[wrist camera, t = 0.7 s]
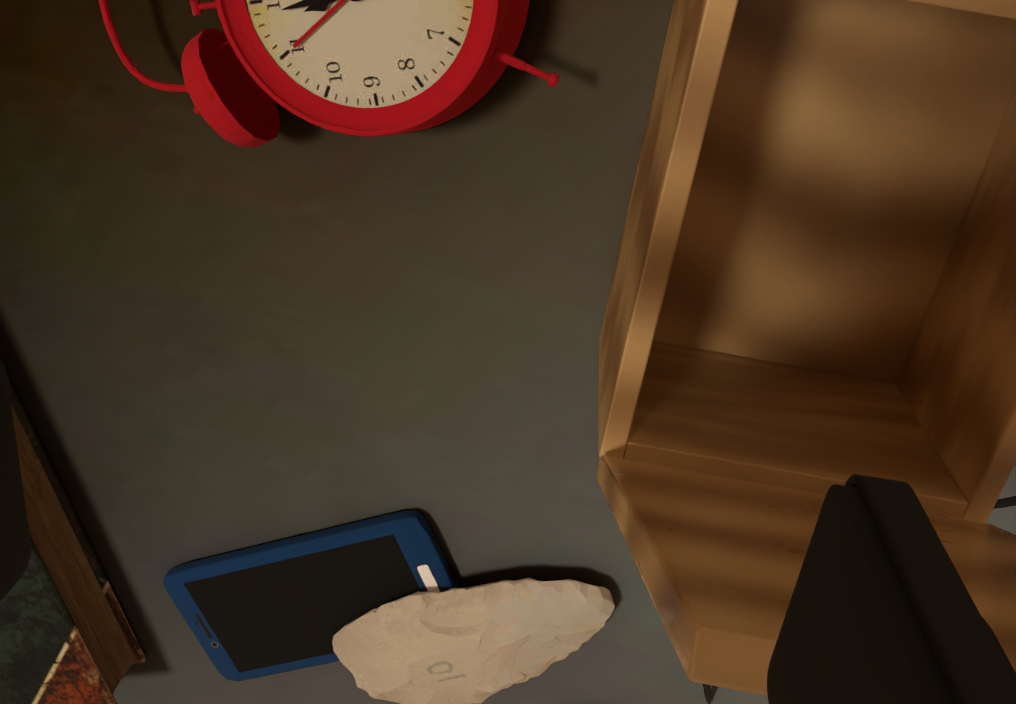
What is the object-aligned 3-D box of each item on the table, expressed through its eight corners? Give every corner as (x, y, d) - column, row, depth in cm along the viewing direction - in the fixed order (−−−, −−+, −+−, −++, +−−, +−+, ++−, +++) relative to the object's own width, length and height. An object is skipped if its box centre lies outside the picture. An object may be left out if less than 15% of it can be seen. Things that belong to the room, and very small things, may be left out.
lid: (697, 627, 13) (632, 974, 13) (1610, 792, 12) (1531, 1141, 13) (600, 454, 29) (572, 607, 29) (992, 524, 29) (962, 677, 29)
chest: (691, -77, 30) (722, -67, 22) (1068, -12, 30) (1234, 21, 22) (598, 340, 37) (598, 458, 29) (903, 394, 37) (985, 527, 29)
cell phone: (477, 623, 44) (475, 634, 44) (229, 674, 48) (224, 685, 47) (421, 504, 42) (418, 514, 41) (161, 567, 45) (155, 577, 44)
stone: (318, 610, 45) (306, 641, 43) (572, 520, 41) (571, 549, 39) (398, 717, 48) (390, 749, 46) (643, 641, 44) (645, 674, 42)
